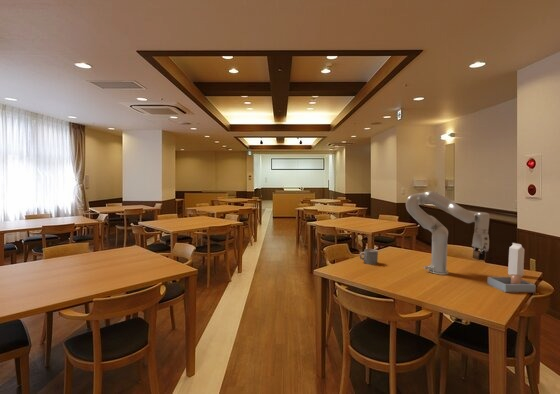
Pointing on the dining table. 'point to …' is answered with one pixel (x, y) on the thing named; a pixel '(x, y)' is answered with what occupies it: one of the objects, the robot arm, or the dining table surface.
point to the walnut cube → (476, 255)
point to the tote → (511, 285)
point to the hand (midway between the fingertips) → (478, 258)
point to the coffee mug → (370, 256)
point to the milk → (516, 259)
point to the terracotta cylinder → (515, 279)
